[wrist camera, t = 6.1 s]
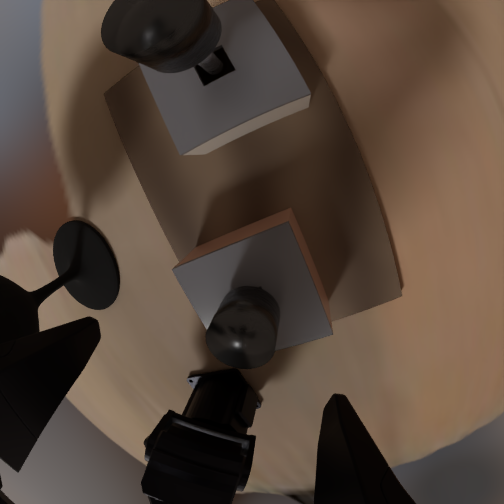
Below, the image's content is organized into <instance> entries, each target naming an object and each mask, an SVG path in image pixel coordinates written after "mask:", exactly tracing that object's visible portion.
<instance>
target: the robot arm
mask: <svg viewBox="0 0 504 504" xmlns="http://www.w3.org/2000/svg"><path fill="white" fill-rule="evenodd" d="M100 339H101V333H100V327H99V322H98V320H96V319H94V318H92V317H85V318H82V319H79V320H76V321H73V322H69V323H66V324H63V325H60V326H57V327H54V328H51V329H48V330H44V331H41V332H38V333H35V334H32V335H29V336H25V337H22V338H19V339H17V340H12V341H9V342H6V343H2V344H0V459H2V460H3V461H4V462H5V463H7V464H8V465H9V466H10V467H12V468H13V469H14V470H15V471H16V472H19V471H20V469H21V467H22V466H23V464H24V462H25V460H26V458H27V457H28V455H29V453H30V451H31V450H32V448H33V446H34V445H35V443H36V441H37V439H38V438H39V436H40V434H41V433H42V431H43V429H44V428H45V426H46V425H47V423H48V422H49V420H50V418H51V417H52V415H53V414H54V412H55V411H56V409H57V407H58V406H59V405H60V403H61V401H62V400H63V398H64V397H65V396H66V394H67V393H68V391H69V390H70V388H71V387H72V385H73V384H74V382H75V381H76V379H77V378H78V377H79V375H80V374H81V372H82V371H83V369H84V368H85V366H86V364H87V363H88V361H89V359H90V357H91V355H92V354H93V352H94V350H95V348H96V347H97V345H98V343H99V341H100ZM234 373H235V374H234ZM187 382H188V383H189V384H190V385H191V387H192V388H193V389H194V390H193V392H192V394H191V396H190V398H189V401H188V403H187V405H186V407H185V409H184V411H183V414H182V415H181V414H178V413H175V411H172V410H169V411H168V412H167V414H166V415H164V416H163V417H162V419H161V420H160V422H159V423H158V425H157V426H156V427H155V429H154V430H153V432H152V433H151V434H150V435H149V436H148V437H147V438H146V439H145V440H144V445H145V447H146V450H145V460H146V461H148V464H147V467H146V470H145V473H144V476H143V479H142V481H141V485H142V491H143V493H144V494H146V495H148V498H149V501H150V504H232V501H233V498H234V495H235V492H236V490H237V491H243V490H244V488H245V486H246V484H247V481H248V478H249V475H250V471H251V467H252V461H253V454H254V447H255V440H256V436H254V435H247V429H248V428H249V427H251V426H252V424H253V420H254V416H255V411H256V409H258V408H260V407H261V402H260V401H259V399H258V397H257V396H256V394H255V393H254V391H253V390H252V388H251V387H250V385H249V384H247V382H246V381H245V379H244V378H243V376H242V375H241V373H240V372H239V371H238V370H237V369H229V370H223V371H217V372H211V373H205V374H198V375H191V376H188V378H187ZM388 466H389V465H388V463H387V462H386V460H385V458H384V457H383V455H382V454H381V452H380V450H379V449H378V447H377V445H376V444H375V442H374V441H373V439H372V437H371V436H370V434H369V433H368V431H367V429H366V428H365V426H364V424H363V423H362V421H361V420H360V418H359V416H358V415H357V413H356V412H355V410H354V408H353V407H352V405H351V403H350V402H349V400H348V399H347V397H346V396H345V395H343V394H333V395H332V397H331V398H330V400H329V401H328V403H327V404H326V406H325V407H324V410H323V416H322V423H321V429H320V436H319V441H318V449H317V466H316V481H315V493H314V504H416V503H415V502H414V500H413V499H412V498H411V497H410V495H409V494H408V493H407V492H406V490H405V489H404V488H403V486H402V485H401V484H400V482H399V481H398V479H397V478H396V476H395V475H394V473H393V471H392V470H391V468H390V467H388ZM1 488H2V481H1V476H0V489H1ZM0 504H14V503H13V502H12V501H11V500H10V499H9V498H8V497H7V496H6V495H5V494H4V493H3V492H2V491H1V490H0Z"/></svg>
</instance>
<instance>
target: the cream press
mask: <svg viewBox="0 0 504 504" xmlns="http://www.w3.org/2000/svg"><path fill="white" fill-rule="evenodd" d="M213 9H214V11H215V12H216V14H217V15H218V17H219V18H220V21H221V25H222V32H221V37H220V40H219V42H218V44H217V46H216V47H215V49H214V50H213V51H212V52H215V51H216V50H218V49H220V48H222V47H223V48H224V50H225V52H226V53H227V55H228V57H229V59H230V61H231V62H232V64H233V66H234V68H235V71H233V72H231V73H229V74H227V75H225V76H223V77H221V78H219V79H217V80H215V81H213V82H211V83H209V84H208V85H206V86H205V85H204V83H203V81H202V79H201V77H200V75H199V73H198V71H197V69H196V67H195V66H194V67H192V68H190V69H188V70H185V71H182V72H178V73H162V72H158V71H156V70H154V69H152V68H149V67H147V66H145V65H143V64H140V63H139V66H140V68H141V70H142V72H143V75H144V77H145V79H146V82H147V84H148V86H149V88H150V91H151V93H152V95H153V97H154V100H155V102H156V104H157V106H158V109H159V111H160V113H161V115H162V117H163V120H164V122H165V124H166V126H167V128H168V131H169V133H170V135H171V137H172V139H173V141H174V144H175V146H176V148H177V150H178V152H179V154H180V155H203V154H207V153H209V152H211V151H213V150H215V149H217V148H219V147H221V146H223V145H225V144H227V143H229V142H231V141H233V140H235V139H237V138H239V137H241V136H243V135H245V134H247V133H249V132H252V131H254V130H256V129H258V128H260V127H263V126H265V125H267V124H269V123H272V122H274V121H276V120H279V119H281V118H283V117H286V116H288V115H291V114H293V113H296V112H298V111H301V110H303V109H306V108H308V107H309V102H310V96H311V92H310V90H309V89H308V87H307V85H306V83H305V81H304V79H303V78H302V76H301V74H300V72H299V70H298V69H297V67H296V65H295V63H294V62H293V60H292V58H291V57H290V55H289V53H288V52H287V50H286V48H285V47H284V45H283V44H282V42H281V40H280V39H279V37H278V36H277V34H276V33H275V31H274V30H273V28H272V27H271V25H270V24H269V22H268V21H267V19H266V18H265V16H264V15H263V13H262V12H261V11H260V9H259V8H258V6H257V5H256V4H255V2H254V1H253V0H229V1H227V2H224V3H222V4H220V5H218V6H216V7H214V8H213Z"/></svg>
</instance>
